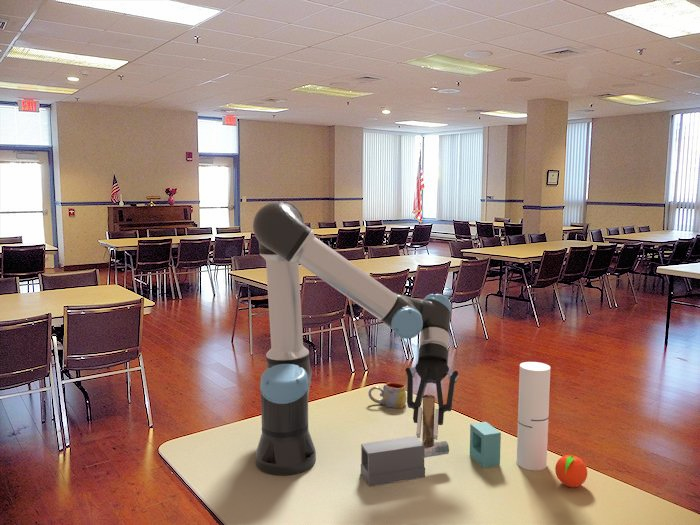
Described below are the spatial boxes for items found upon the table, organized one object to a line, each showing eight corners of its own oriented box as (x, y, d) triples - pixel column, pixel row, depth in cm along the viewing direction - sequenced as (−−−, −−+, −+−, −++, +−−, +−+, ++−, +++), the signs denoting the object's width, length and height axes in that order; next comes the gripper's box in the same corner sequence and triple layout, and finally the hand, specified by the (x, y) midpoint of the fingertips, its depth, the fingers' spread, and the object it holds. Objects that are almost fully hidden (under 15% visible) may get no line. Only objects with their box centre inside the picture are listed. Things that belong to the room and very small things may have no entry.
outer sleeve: (360, 473, 139) (360, 442, 138) (414, 464, 143) (414, 435, 142) (369, 486, 133) (369, 454, 132) (425, 477, 137) (425, 446, 136)
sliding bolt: (374, 461, 138) (374, 400, 136) (443, 450, 143) (443, 392, 141) (379, 467, 135) (379, 405, 133) (448, 456, 140) (449, 397, 138)
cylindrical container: (548, 471, 139) (552, 371, 136) (517, 469, 140) (521, 369, 137) (544, 458, 146) (548, 362, 143) (515, 455, 147) (518, 361, 144)
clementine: (580, 498, 127) (582, 467, 126) (549, 488, 131) (550, 459, 130) (590, 483, 134) (591, 454, 133) (559, 474, 138) (561, 446, 137)
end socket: (469, 455, 148) (470, 423, 147) (485, 453, 149) (486, 421, 148) (483, 468, 141) (484, 435, 140) (499, 465, 142) (500, 432, 141)
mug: (406, 401, 185) (407, 381, 185) (405, 409, 179) (405, 389, 178) (369, 399, 187) (369, 379, 186) (367, 407, 181) (367, 387, 180)
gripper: (466, 357, 150) (462, 445, 137) (403, 354, 154) (393, 439, 140) (465, 343, 145) (462, 433, 131) (400, 339, 148) (390, 427, 134)
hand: (426, 436), depth 135 cm, fingers open, 3 cm apart
